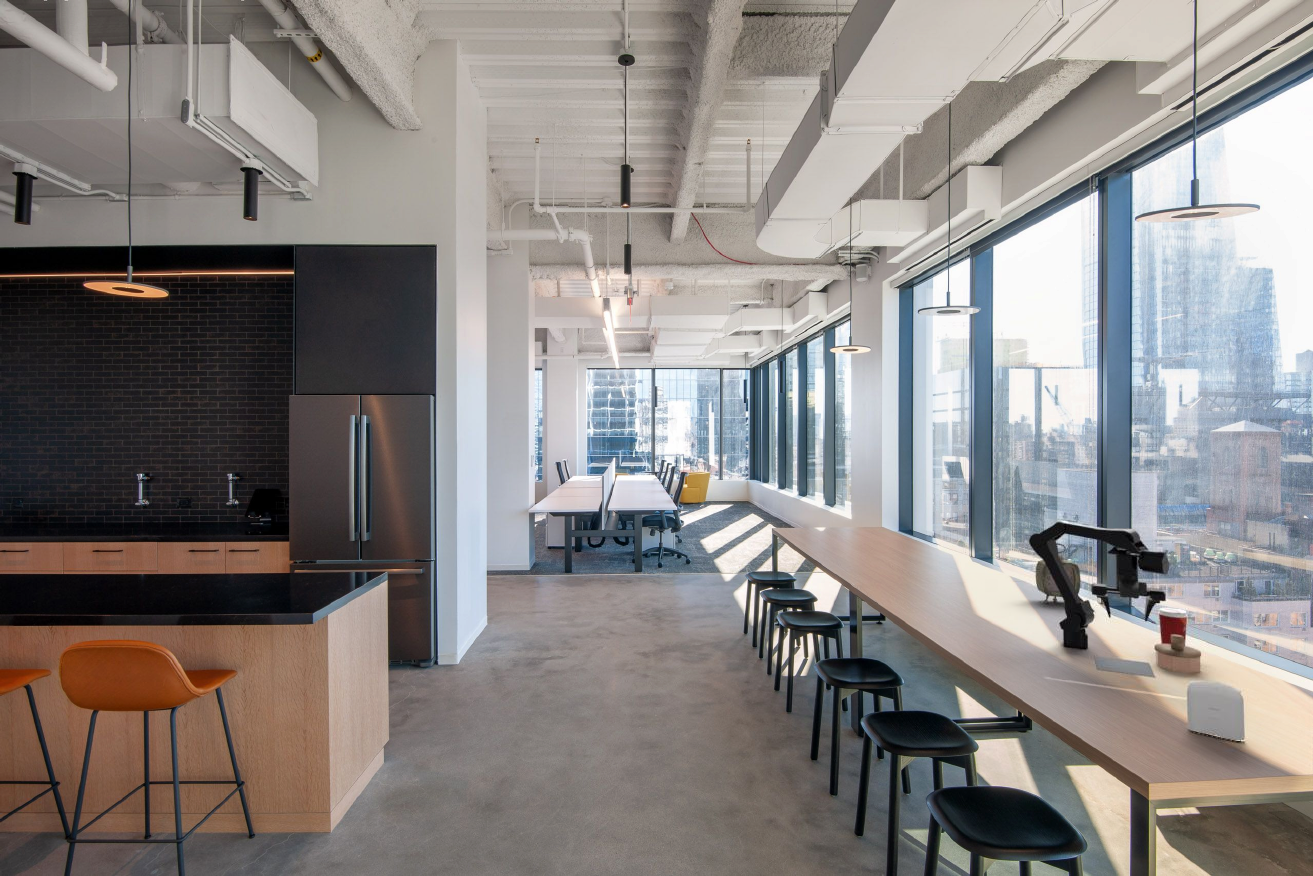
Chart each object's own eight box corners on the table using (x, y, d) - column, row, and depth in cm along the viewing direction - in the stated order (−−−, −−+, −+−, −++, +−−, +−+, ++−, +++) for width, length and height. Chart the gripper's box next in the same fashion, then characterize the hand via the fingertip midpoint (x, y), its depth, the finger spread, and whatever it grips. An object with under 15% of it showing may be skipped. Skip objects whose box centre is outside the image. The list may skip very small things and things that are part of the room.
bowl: (1159, 671, 198) (1159, 654, 198) (1154, 661, 206) (1154, 644, 206) (1202, 676, 192) (1202, 659, 192) (1195, 666, 201) (1195, 649, 201)
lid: (1157, 654, 197) (1157, 638, 197) (1151, 644, 207) (1151, 628, 207) (1204, 660, 192) (1204, 643, 192) (1196, 649, 201) (1196, 633, 201)
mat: (1097, 671, 198) (1097, 669, 198) (1094, 657, 210) (1094, 655, 210) (1155, 679, 191) (1155, 677, 191) (1148, 664, 203) (1148, 662, 203)
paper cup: (1194, 658, 208) (1193, 613, 208) (1166, 657, 210) (1165, 612, 210) (1179, 650, 216) (1179, 607, 216) (1153, 649, 217) (1152, 606, 217)
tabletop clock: (1042, 605, 275) (1042, 544, 275) (1034, 599, 284) (1033, 541, 284) (1080, 606, 273) (1080, 545, 273) (1070, 600, 282) (1070, 541, 282)
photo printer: (1186, 732, 157) (1185, 679, 157) (1188, 726, 160) (1187, 675, 160) (1244, 745, 150) (1243, 690, 150) (1245, 739, 153) (1244, 685, 153)
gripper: (1092, 571, 206) (1093, 621, 206) (1168, 577, 196) (1168, 630, 196) (1090, 565, 215) (1091, 613, 215) (1162, 570, 206) (1163, 620, 206)
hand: (1127, 619), depth 208 cm, fingers open, 9 cm apart
